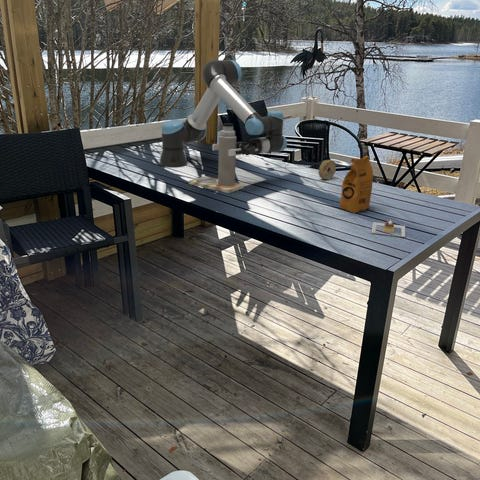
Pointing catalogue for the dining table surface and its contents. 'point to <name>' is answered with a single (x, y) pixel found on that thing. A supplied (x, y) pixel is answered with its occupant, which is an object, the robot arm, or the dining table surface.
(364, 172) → the coffee package
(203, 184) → the board
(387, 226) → the dessert
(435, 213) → the dining table surface
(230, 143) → the thermos bottle
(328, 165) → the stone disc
